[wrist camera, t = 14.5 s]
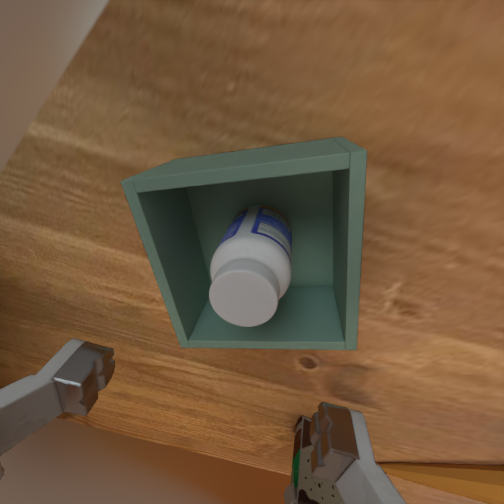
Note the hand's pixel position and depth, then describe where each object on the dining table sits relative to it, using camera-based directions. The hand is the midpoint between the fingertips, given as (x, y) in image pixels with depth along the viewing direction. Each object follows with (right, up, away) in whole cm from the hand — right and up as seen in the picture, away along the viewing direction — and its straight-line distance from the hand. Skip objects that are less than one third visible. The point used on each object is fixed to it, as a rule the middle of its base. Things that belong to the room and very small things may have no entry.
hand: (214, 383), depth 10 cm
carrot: (+27, -25, +27) cm, 46 cm away
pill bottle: (+2, +7, +13) cm, 15 cm away
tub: (+2, +7, +14) cm, 16 cm away
